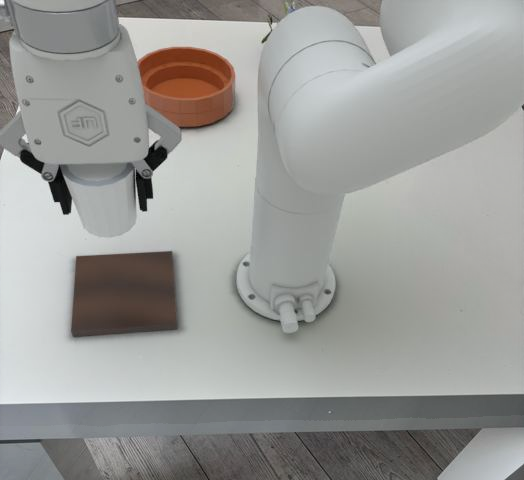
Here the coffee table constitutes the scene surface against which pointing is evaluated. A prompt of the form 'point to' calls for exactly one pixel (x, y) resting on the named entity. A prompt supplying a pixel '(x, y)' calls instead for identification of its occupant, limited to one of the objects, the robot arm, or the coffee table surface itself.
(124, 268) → the pad
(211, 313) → the coffee table surface
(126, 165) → the white cup
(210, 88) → the bowl
